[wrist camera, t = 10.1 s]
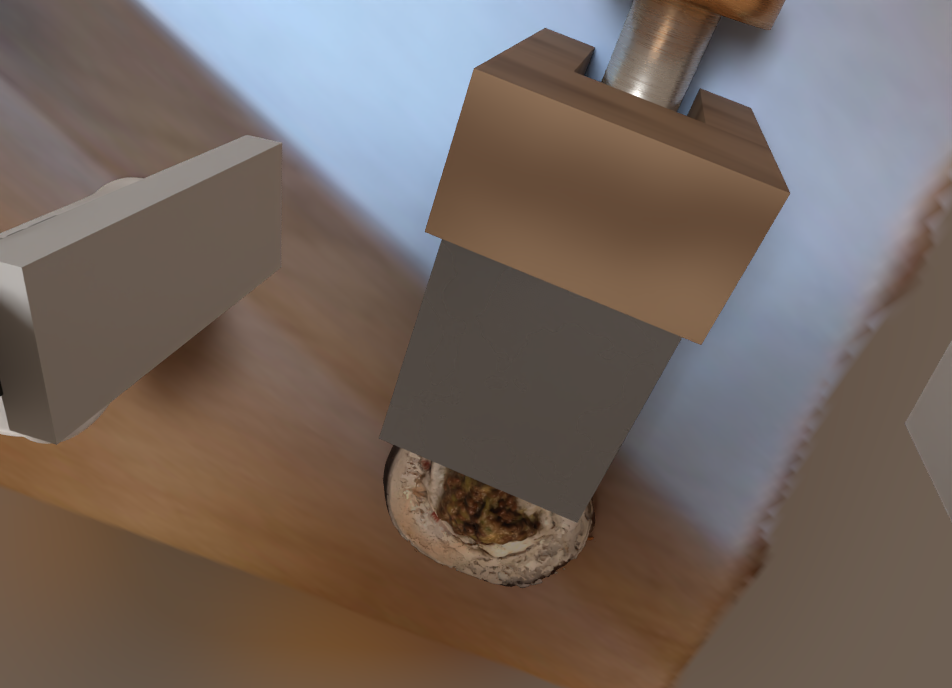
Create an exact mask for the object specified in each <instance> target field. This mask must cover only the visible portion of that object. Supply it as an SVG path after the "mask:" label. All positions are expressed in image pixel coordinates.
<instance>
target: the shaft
mask: <svg viewBox="0 0 952 688" xmlns="http://www.w3.org/2000/svg"><path fill="white" fill-rule="evenodd" d="M784 2H785V0H634V1H633V3H632V6H631V8H630V11H629V13H628V16H627V18H626V21H625V23H624V26H623V28H622V31H621V33H620V36H619V38H618V41H617V43H616V46H615V48H614V51H613V54H612V56H611V59H610V61H609V64H608V66H607V69H606V71H605V74H604V76H603V79H602V81H601V83H604V84H606V85H609V86H611V87H614V88H616V89H619V90H622V91H624V92H627V93H629V94H632V95H634V96H637V97H639V98H642V99H644V100H647V101H650V102H652V103H655V104H657V105H660V106H662V107H665V108H667V109H670V110H673V111H675V112H677V110H678V108H679V106H680V104H681V102H682V99H683V97H684V95H685V93H686V91H687V89H688V86H689V84H690V82H691V80H692V78H693V76H694V73H695V71H696V69H697V67H698V65H699V63H700V61H701V58H702V56H703V54H704V52H705V50H706V48H707V45H708V43H709V41H710V39H711V37H712V35H713V32H714V30H715V28H716V26H717V24H718V22H719V20H720V17H721V15H722V16H725V17H728V18H731V19H734V20H736V21H739V22H742V23H746V24H749V25H752V26H755V27H758V28H762V29H766V30H771V28H772V26H773V24H774V22H775V20H776V18H777V16H778V14H779V12H780V10H781V8H782V6H783V4H784Z"/></svg>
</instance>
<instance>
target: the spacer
mask: <svg viewBox="0 0 952 688" xmlns="http://www.w3.org/2000/svg"><path fill="white" fill-rule="evenodd" d="M594 48H595V47H593V46H590V45H588V44H585V43H583V42H580V41H577V40H575V39H572V38H570V37H567V36H565V35H562V34H559V33H557V32H554V31H552V30H549V29H547V28H544V29H542V30H541V31H539V32H537V33H535V34H534V35H532V36H530V37H528V38H527V39H525V40H523V41H521V42H519V43H518V44H516V45H514V46H512V47H511V48H509V49H507V50H505V51H504V52H502V53H500V54H498V55H497V56H495V57H493V58H491V59H490V60H488V61H486V62H484V63H483V64H481V65H479V66H477V67H476V68H474V70H473V73H472V77H471V80H470V83H469V87H468V90H467V93H466V97H465V100H464V103H463V107H462V110H461V113H460V117H459V120H458V123H457V126H456V130H455V133H454V136H453V140H452V143H451V146H450V150H449V153H448V156H447V160H446V163H445V166H444V170H443V173H442V176H441V180H440V183H439V186H438V189H437V193H436V196H435V199H434V203H433V206H432V209H431V213H430V216H429V219H428V223H427V226H426V229H425V232H426V233H429V234H431V235H434V236H436V237H439V238H441V239H443V240H446V241H448V242H451V243H453V244H456V245H458V246H461V247H463V248H465V249H468V250H470V251H473V252H475V253H478V254H480V255H483V256H485V257H487V258H490V259H492V260H495V261H497V262H500V263H502V264H505V265H507V266H509V267H512V268H514V269H517V270H519V271H522V272H524V273H527V274H529V275H531V276H534V277H536V278H539V279H541V280H544V281H546V282H549V283H551V284H553V285H556V286H558V287H561V288H563V289H566V290H568V291H571V292H573V293H575V294H578V295H580V296H583V297H585V298H588V299H590V300H593V301H595V302H597V303H600V304H602V305H605V306H607V307H610V308H612V309H615V310H617V311H619V312H622V313H624V314H627V315H629V316H632V317H634V318H637V319H639V320H641V321H644V322H646V323H649V324H651V325H654V326H656V327H658V328H661V329H663V330H666V331H668V332H671V333H673V334H676V335H678V336H680V337H683V338H685V339H688V340H690V341H693V342H695V343H698V344H700V345H701V344H702V343H703V341H704V339H705V338H706V336H707V334H708V332H709V331H710V329H711V327H712V326H713V324H714V322H715V321H716V319H717V317H718V315H719V314H720V312H721V310H722V309H723V307H724V305H725V304H726V302H727V300H728V298H729V297H730V295H731V293H732V292H733V290H734V288H735V287H736V285H737V283H738V281H739V280H740V278H741V276H742V275H743V273H744V271H745V270H746V268H747V266H748V264H749V263H750V261H751V259H752V258H753V256H754V254H755V253H756V251H757V249H758V247H759V246H760V244H761V242H762V241H763V239H764V237H765V235H766V234H767V232H768V230H769V229H770V227H771V225H772V224H773V222H774V220H775V218H776V217H777V215H778V213H779V212H780V210H781V208H782V207H783V205H784V203H785V201H786V200H787V198H788V196H789V195H790V192H789V189H788V187H787V185H786V183H785V181H784V179H783V176H782V174H781V172H780V170H779V168H778V166H777V163H776V161H775V159H774V157H773V155H772V153H771V150H770V148H769V146H768V144H767V142H766V140H765V137H764V135H763V133H762V131H761V129H760V127H759V124H758V122H757V120H756V118H755V116H754V114H753V111H752V109H751V108H749V107H747V106H744V105H742V104H739V103H736V102H734V101H731V100H729V99H726V98H724V97H721V96H719V95H716V94H713V93H711V92H708V91H706V90H703V89H701V88H700V89H699V92H698V94H697V96H696V98H695V100H694V102H693V104H692V106H691V108H690V111H689V113H688V115H687V116H685V115H683V114H680V113H678V112H675V111H673V110H670V109H667V108H665V107H662V106H660V105H657V104H655V103H652V102H650V101H647V100H644V99H642V98H639V97H637V96H634V95H632V94H629V93H627V92H624V91H622V90H619V89H616V88H614V87H611V86H609V85H606V84H604V83H601V82H599V81H596V80H593V79H591V78H588V77H586V76H584V74H585V72H586V69H587V66H588V64H589V61H590V59H591V56H592V53H593V51H594Z"/></svg>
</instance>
